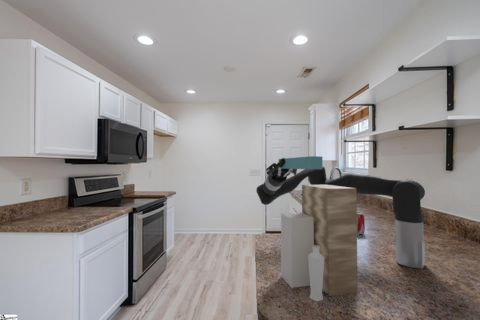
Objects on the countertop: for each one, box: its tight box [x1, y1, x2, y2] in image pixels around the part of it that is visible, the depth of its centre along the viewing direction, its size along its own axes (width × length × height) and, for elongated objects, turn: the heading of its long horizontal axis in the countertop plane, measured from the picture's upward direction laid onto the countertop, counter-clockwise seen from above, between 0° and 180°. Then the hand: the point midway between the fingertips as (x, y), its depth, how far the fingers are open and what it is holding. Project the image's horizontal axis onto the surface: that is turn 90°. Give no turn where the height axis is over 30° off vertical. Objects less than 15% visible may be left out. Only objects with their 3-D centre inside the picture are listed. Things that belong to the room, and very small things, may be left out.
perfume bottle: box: [308, 245, 324, 302], centre depth 69 cm, size 5×4×15 cm
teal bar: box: [278, 155, 323, 170], centre depth 85 cm, size 26×4×4 cm, turn 13°
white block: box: [280, 212, 314, 289], centre depth 79 cm, size 8×8×22 cm
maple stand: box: [301, 184, 359, 297], centre depth 79 cm, size 16×10×32 cm, turn 14°
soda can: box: [357, 211, 366, 235], centre depth 136 cm, size 7×7×12 cm
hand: (289, 160), depth 92 cm, fingers closed on teal bar, 4 cm apart
